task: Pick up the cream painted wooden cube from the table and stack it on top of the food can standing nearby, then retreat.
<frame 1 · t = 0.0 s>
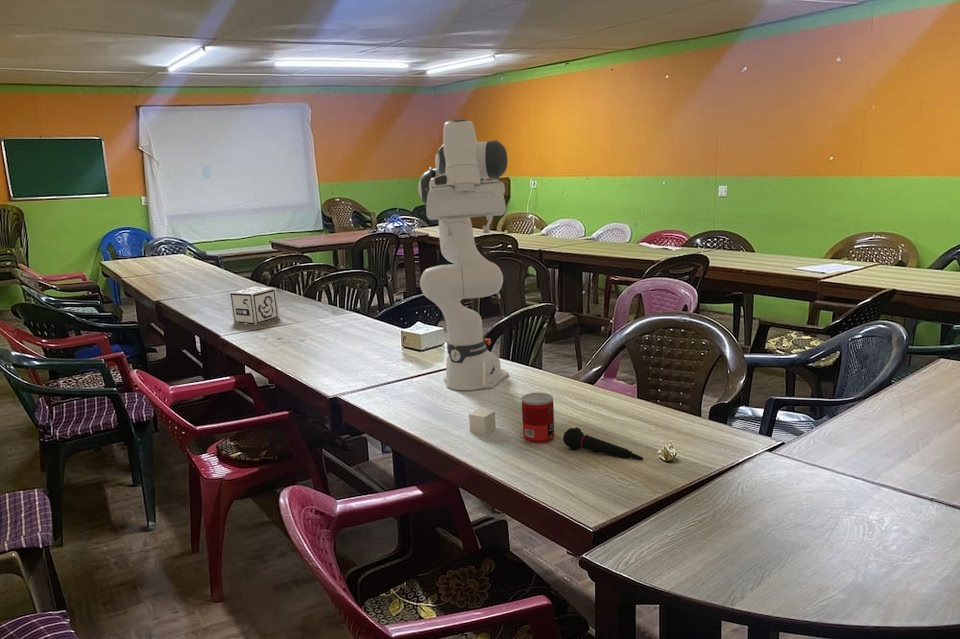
hand: (468, 234, 177), 52 cm above the table, tool tilted 20°, fingers open, 8 cm apart
cream cube: (483, 430, 187), on the table
microphone: (600, 455, 168), on the table
canned food: (538, 438, 180), on the table
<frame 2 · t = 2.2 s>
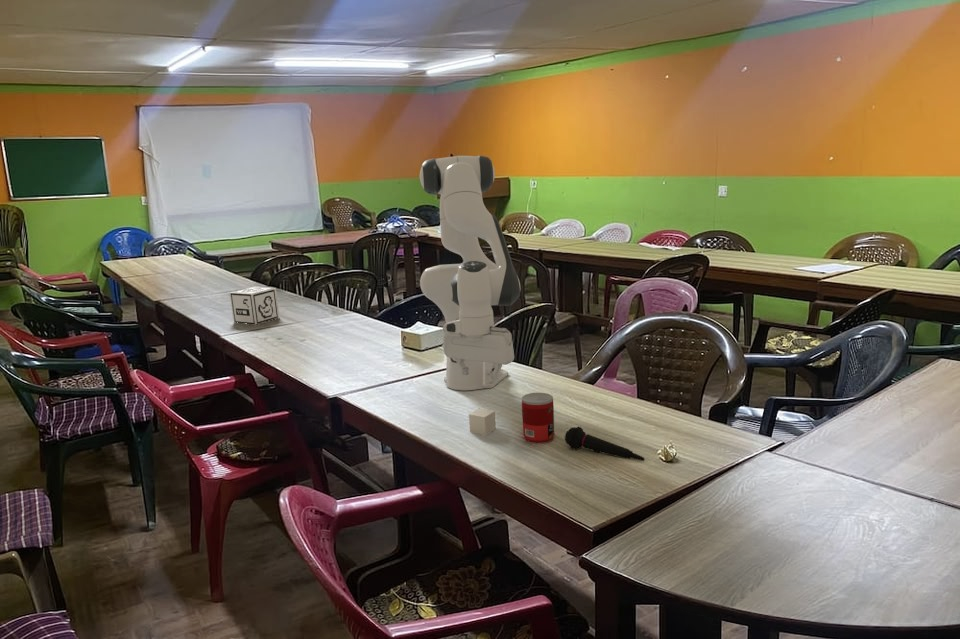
hand: (479, 376, 183), 15 cm above the table, tool pointing down, fingers open, 8 cm apart
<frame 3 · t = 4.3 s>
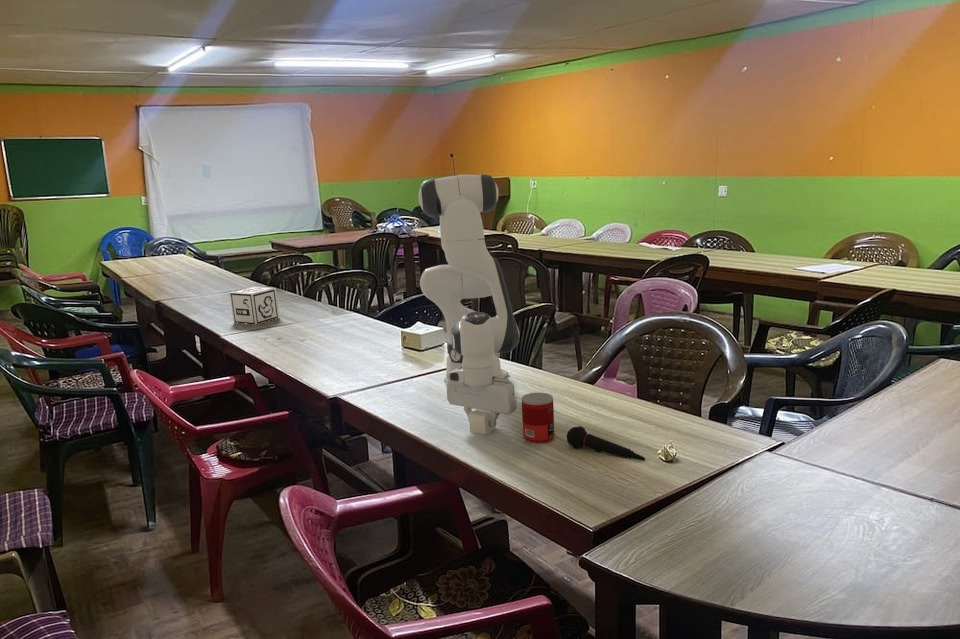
hand: (482, 424, 187), 2 cm above the table, tool pointing down, fingers closed on cream cube, 5 cm apart
cream cube: (482, 429, 187), on the table, touching gripper
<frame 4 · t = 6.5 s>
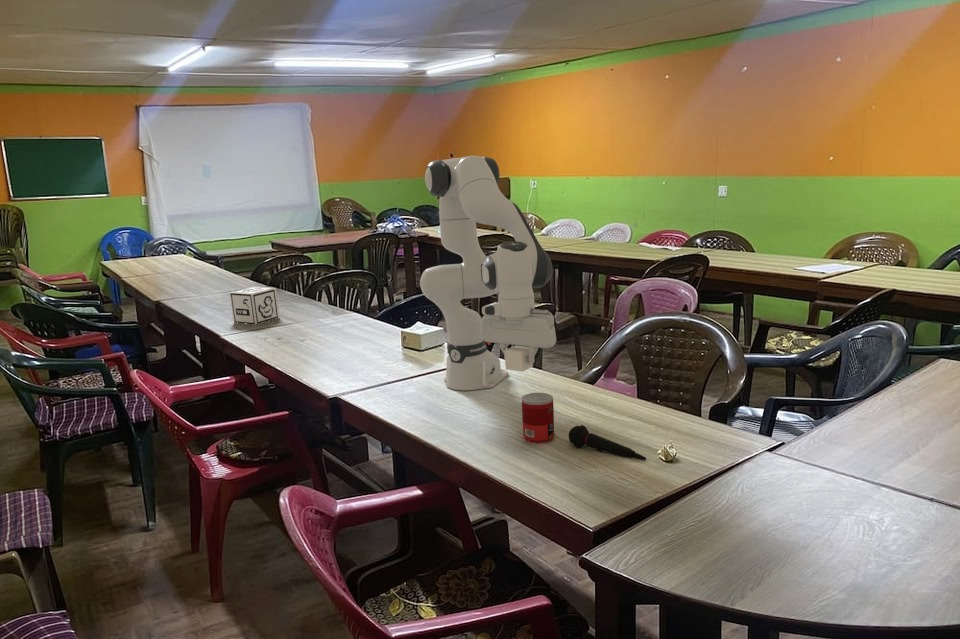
hand: (519, 361, 176), 20 cm above the table, tool pointing down, fingers closed on cream cube, 5 cm apart
cream cube: (519, 367, 177), point 19 cm above the table, touching gripper
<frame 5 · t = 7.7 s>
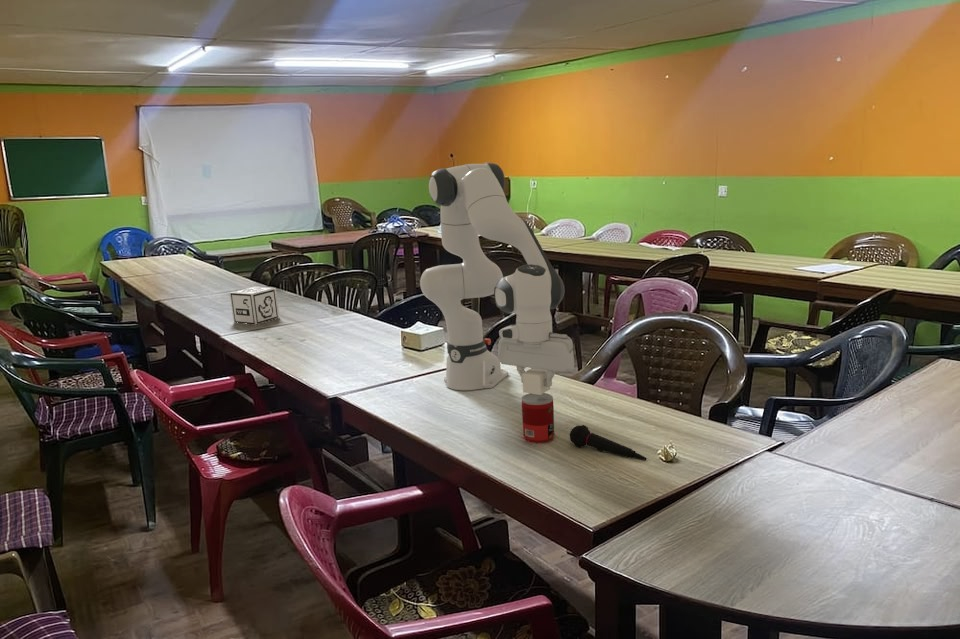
hand: (536, 384, 176), 14 cm above the table, tool pointing down, fingers closed on cream cube, 5 cm apart
cream cube: (536, 390, 177), point 13 cm above the table, touching gripper
when the fingers open (14 cm above the table, at t = 8.6 s): cream cube drops 1 cm, resting on canned food.
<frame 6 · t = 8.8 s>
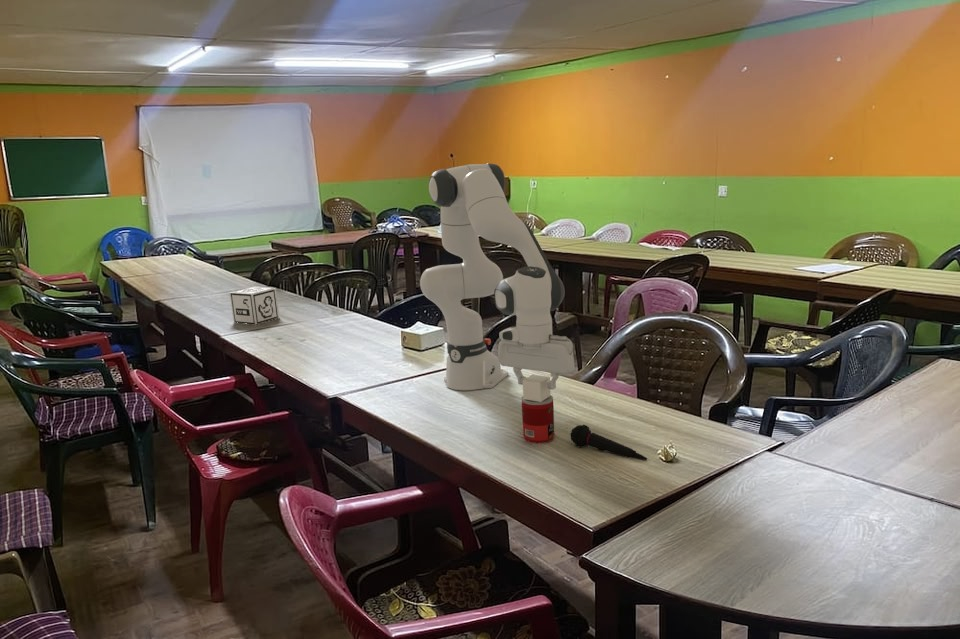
hand: (536, 386, 176), 14 cm above the table, tool pointing down, fingers open, 7 cm apart
cream cube: (537, 397, 177), point 11 cm above the table, touching canned food
canned food: (539, 438, 180), on the table, touching cream cube
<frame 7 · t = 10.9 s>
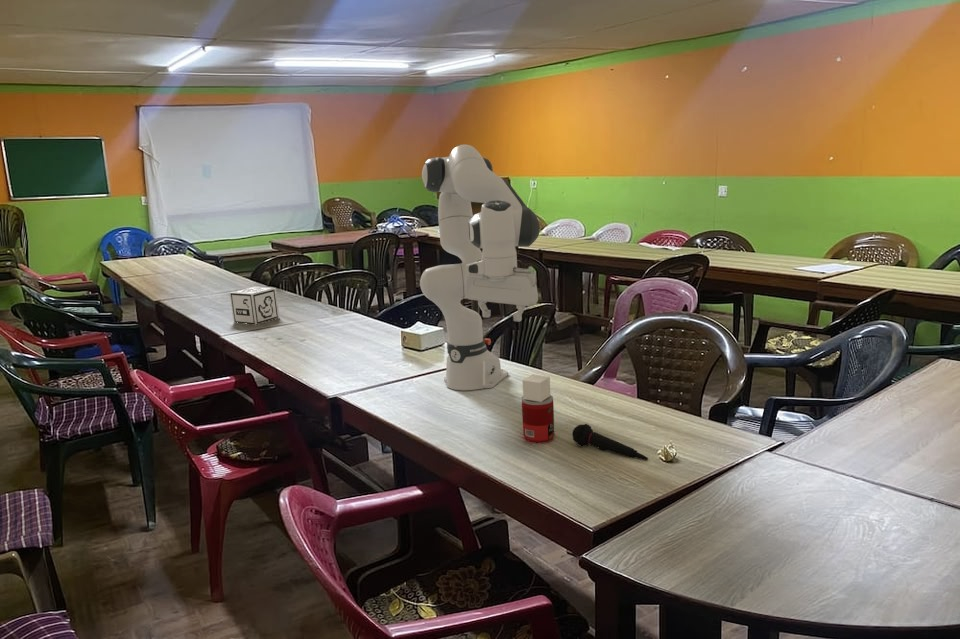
hand: (501, 319, 181), 30 cm above the table, tool pointing down, fingers open, 8 cm apart
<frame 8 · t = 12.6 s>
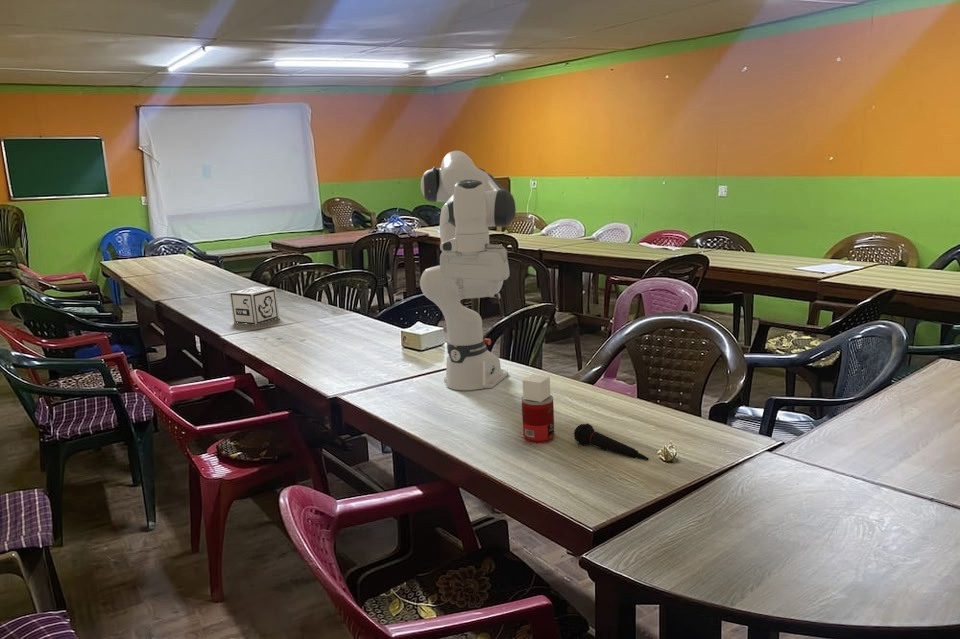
hand: (475, 295, 186), 35 cm above the table, tool pointing down, fingers open, 8 cm apart
at the end: cream cube point 10.9 cm above the table; cream cube 0.1 cm from the canned food (horizontally); cream cube tilted 0° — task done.
